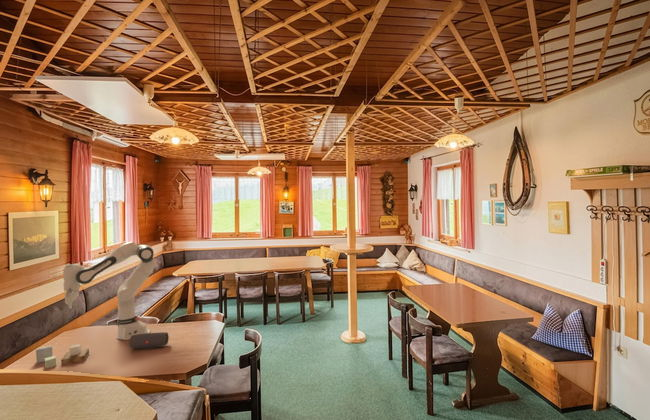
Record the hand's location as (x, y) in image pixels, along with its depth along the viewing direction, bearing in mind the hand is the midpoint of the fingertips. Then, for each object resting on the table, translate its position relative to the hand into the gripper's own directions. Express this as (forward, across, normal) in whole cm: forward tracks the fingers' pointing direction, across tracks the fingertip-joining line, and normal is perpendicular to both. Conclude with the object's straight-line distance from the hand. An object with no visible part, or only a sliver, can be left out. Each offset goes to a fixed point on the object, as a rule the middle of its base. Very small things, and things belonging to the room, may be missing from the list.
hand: (72, 306), depth 233 cm
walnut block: (+30, -23, -6) cm, 38 cm away
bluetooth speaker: (+29, -27, -49) cm, 63 cm away
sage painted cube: (+29, -27, +6) cm, 40 cm away
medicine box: (+29, -16, +12) cm, 36 cm away
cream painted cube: (+26, -23, -6) cm, 35 cm away
